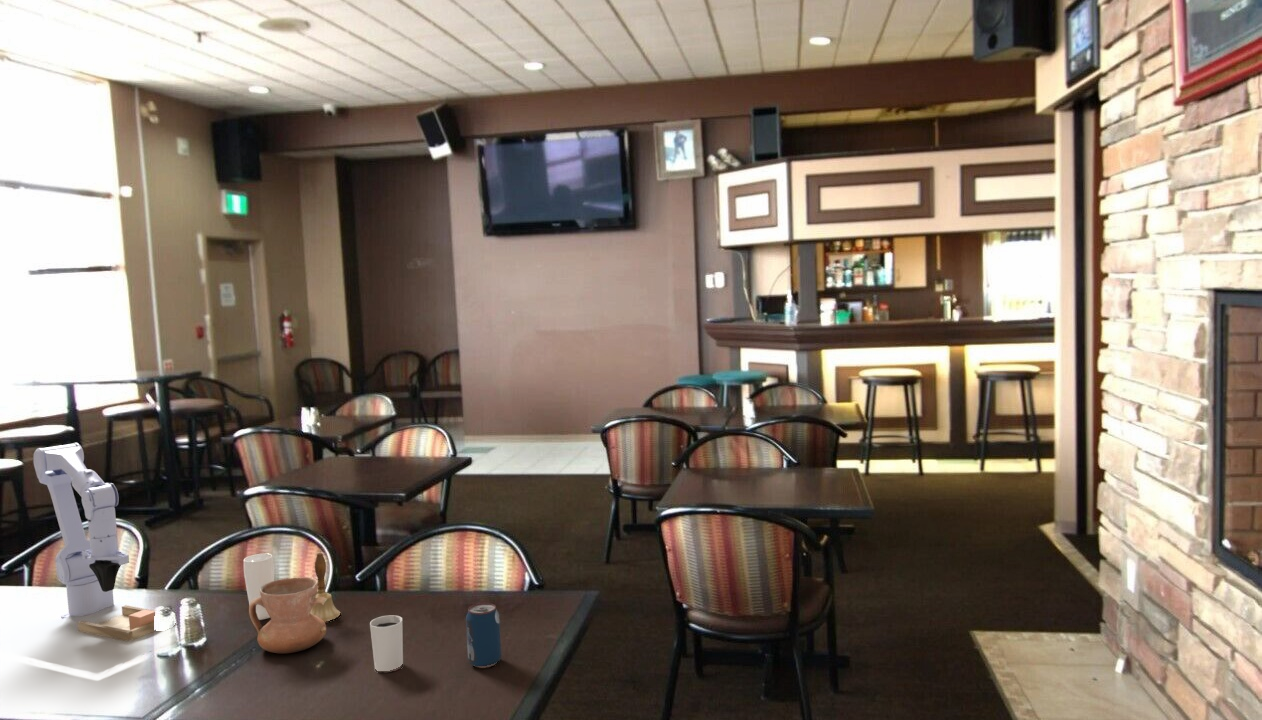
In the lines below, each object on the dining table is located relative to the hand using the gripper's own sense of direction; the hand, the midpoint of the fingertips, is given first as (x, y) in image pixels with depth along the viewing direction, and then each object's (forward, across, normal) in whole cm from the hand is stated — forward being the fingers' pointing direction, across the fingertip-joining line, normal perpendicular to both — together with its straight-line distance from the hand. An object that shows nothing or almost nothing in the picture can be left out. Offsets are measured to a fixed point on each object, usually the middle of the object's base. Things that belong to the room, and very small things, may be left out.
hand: (108, 590), depth 213 cm
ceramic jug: (+10, +51, +8) cm, 52 cm away
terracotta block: (+8, +12, 0) cm, 14 cm away
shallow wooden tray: (+9, +6, 0) cm, 11 cm away
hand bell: (+10, +45, +24) cm, 52 cm away
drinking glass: (+10, +30, +18) cm, 37 cm away
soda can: (+10, +98, +16) cm, 100 cm away
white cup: (+10, +80, +6) cm, 81 cm away
